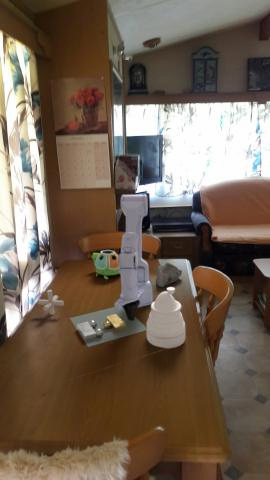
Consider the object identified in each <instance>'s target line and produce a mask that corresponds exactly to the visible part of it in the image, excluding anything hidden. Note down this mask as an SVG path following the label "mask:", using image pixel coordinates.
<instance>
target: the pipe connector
mask: <svg viewBox="0 0 270 480" xmlns="http://www.w3.org/2000/svg"><path fill="white" fill-rule="evenodd" d="M46 293H47V299H37V305H43V307H42V310H43V311H44V312H46V311H48V310H49V315H50V316H51V315H52V316H53V315H55V307H54V306H64V304H65V302H64V300H59V296H58V295H53V290H52V289H48V290H47V291H46Z"/></svg>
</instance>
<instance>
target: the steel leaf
mask: <svg viewBox="0 0 270 480" xmlns="http://www.w3.org/2000/svg"><path fill="white" fill-rule="evenodd" d="M96 326H97V324H96V322H95V321H94V320H90V321H89V322H84V323H80V324H77V329H78V331H79V332H78V331H77V332H78V334H79V333H80V334H81V335H80V334H79V335H80V337H81V336H82V337H83V338H82V337H81V338H82V340H83V339H84V340H85V341H84V340H83V341H84V343H85V342H86V341H89V340H93V339H96V338H97V337H99V338H100V337H102V336H103V331H102V330H101V329H100V328H96ZM94 328H96V329H95V331H94ZM77 329H76V330H77Z"/></svg>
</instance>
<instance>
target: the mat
mask: <svg viewBox="0 0 270 480" xmlns="http://www.w3.org/2000/svg"><path fill="white" fill-rule="evenodd" d="M115 314H117V315H118V316H119V318H120V319H121V320H122V321H123V322H124V323H125V324H126V330H124V331H121V332H117V333H116V332H115V331H114V330H113V329H112V328H110V329H106V328H105V327H104V325H103V323H104V322H105V321H106V317H107V316H111V315H115ZM69 320H70V321H71V323H72V325H73V326H74V328H75V329H76V330H77V332H78V334H79V336H80V337H81V338H82V340H83V341H84V343H85V345H86V346H87V347H88V348H89V347H93V346H97V345H100V344H103V343H107V342H111V341H113V340H117V339H120V338H124V337H127V336H131V335H135V334H138V333H141V332H146V331H147V328H146V327H147V326H145V325H144V324H143V323H142V322H141V321H140V320H139V319H138V318H137V317H136V316H135V319H134V320H133V321H131V320H128V318H127V315H126V312H125V310H124V308H123V307H121V309H116V308H115V306H113V307H108V308H104V309H101V310H97V311H93V312H89V313H86V314H85V313H84V314H82V315H77V316H73V317H69ZM90 320H94V321H95V322H96V324H97V326H96V328H100V329H101V330H102V331H103V336H102V337H100V338H99V337H97V338H96V339H93V340H89V341H86V342H85V340H84V339H83V337H82V336H81V334H80V333H79V331H78V329H77V324H80V323H84V322H89V321H90ZM96 328H94V331H95V329H96Z"/></svg>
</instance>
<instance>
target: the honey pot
mask: <svg viewBox="0 0 270 480" xmlns="http://www.w3.org/2000/svg"><path fill="white" fill-rule="evenodd" d="M175 291H176V288H175V287H173V286H169V287H167V288H166V291H162V292H161V293H159V294H158V296H157V297H156V299H155V300H154V301H153V303H152V304H150V309H151V311H150V312H149V315H148V318H147V321H146V326H145V327H146V328H147V330H146V340H147V342H148V343H150V344H151V345H152V346H155V347H158V348H164V349H174V348H177V347H180V346H181V345H182V344H185V341H186V323H185V320H184V317H183V314H182V312H181V310H182V304H181V303H180V301H178V300H176V299H175V297H174V296H173V294H175Z"/></svg>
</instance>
